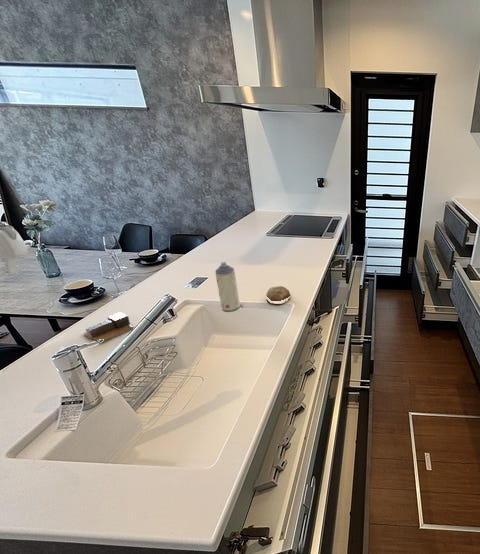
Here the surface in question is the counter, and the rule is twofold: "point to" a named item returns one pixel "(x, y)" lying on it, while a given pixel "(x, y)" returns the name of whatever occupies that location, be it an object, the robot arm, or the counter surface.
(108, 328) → the dish brush
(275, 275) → the counter surface
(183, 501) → the counter surface
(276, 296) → the bread roll
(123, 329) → the light flat block
